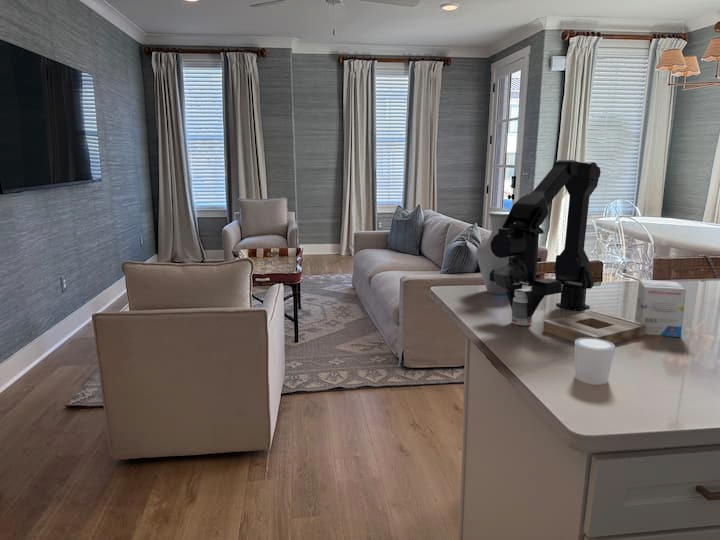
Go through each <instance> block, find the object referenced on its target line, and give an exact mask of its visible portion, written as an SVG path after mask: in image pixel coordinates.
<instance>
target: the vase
mask: <svg viewBox="0 0 720 540" xmlns="http://www.w3.org/2000/svg"><path fill="white" fill-rule="evenodd" d="M509 213H510V211H489V212H488V215H489V218H490V223H491V233H490V235H489V237H488V238H487V239H486V240H484V241H483V242H482V243H480V244H479V245H478V247H477V248H476V259H477V262H478V267H479V270H480V274H481V277H482V280H483V283H484V285H485V288H486V290H487V293H489V294H493V295H499V296H500V295H507V293H506V291H505V290H504V289H503V288H502V287H500V286H499V285H497V284H496V282H493V281H490V273H491V271H492V270H496V269H499V268H501V267H502V266H504V265H507V264H508V262H509V258H510V257H512V256H510V257H504V258H499V257H496V256H495V255H494V254H493V252H492V250H491V241H492V239H493V237H494V236H495V235H497V234H498V231H499V229H500V228H502V227H503V225H504V223H505V221H506V219H507V217H508V215H509Z"/></svg>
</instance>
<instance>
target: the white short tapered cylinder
mask: <svg viewBox="0 0 720 540" xmlns="http://www.w3.org/2000/svg"><path fill="white" fill-rule="evenodd" d="M615 348H616V345H615V344H613V343H611V342H609V341H606V340H602V339H597V338H579V339H576V340H575V342H574V376H575V378H576V380H578V381H579V382H580V383H581V382H582V383H584V384H587V385H591V386H592V385H593V386H601V385H606V384H608V382H609V378H610V372H611V367H612V364H613V363H612V362H613V358H614V354H615Z"/></svg>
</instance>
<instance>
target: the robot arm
mask: <svg viewBox="0 0 720 540" xmlns="http://www.w3.org/2000/svg"><path fill="white" fill-rule="evenodd" d="M552 165H553V166H552V168H551V169H550V171H548V173H546V175H545V176H544V177H543V179H541V181H540V182H539V184H538V185H537V186H536V187H535V188H534V189H533V191H531V192H530V193H529V194H526V195H524V196H521V197H520V198H518V200H517V201H515V203H513V205H512V207H511V209H510V211H509V212H510V213H509V215H508V217H507V219H506V221H505V223H504V225H503V227H502V228H500V229H499V231H498V234H497V235H495V236H494V237H493V239H492V241H491V250H492V252H493V254H494V255H495V256H496V257H499V258H504V257H510V256H512V257H510V258H509V262H508V264H507V265H504V266H502V267H501V268H499V269H496V270H492V271H491V273H490V281H493V282H496V284H497V285H499V286H500V287H502V288H503V289H504V290H505V291H506V293H507V294H506V296H507V298H508V302H509V304H510V308H511V310H512V308H513V298H514V297H515V295H514V293H515V290H516V289H523V286H528V287H530V288H529V290H530V291H525V292H524V293H525V294H526V295H527V297H528V303H527V315H528V317H532V318H533V315H534V314H535V312H536V311H537V309H538V307H539V305H540V303H541V302H542V301H543V299H544V298H545V296H551V295H555V294H560V299H559V302H557V303H556V304H555V306H557V307H560V308H561V307H562V308H563V309H568V310H571V311H580V310H585V309H590V307H591V306H590V305H588V304H586V298H587V289H589V290H590V289H593V287H594V285H595V281H596V279H595V277H594V276H593V274H592V273H593V272H591V271H592V270H591V269H590V259H589V257H588V255H587V253H586V251H585V244H586V243H585V241H586V234H587V233H586V232H587V223H588V216H589V215H588V213H589V205H590V197H591V195H592V194H593V192H594V191H595V190H596V188H597V187H598V186H599V185H598V183H599V179H600V177H601V173H602V171H601V167H599V166H598V164H597V162H594V161H586V162H585V161H584V162H582V161H578V160H577V161H576V160H573V159H558V160H556V161H554V163H553V164H552ZM563 187H565V189H566V191H567V193H568V195H569V198H568V199H569V201H568V209H567V220H566V221H567V222H566V230H565V231H566V232H565V239H564V249H563V250H562V251H561V253H560V254H557V255H556V256H555V265H554V275H555V278H554V279H552V278H541V273H538V272H537V270H538V263H541V262H542V257H539V243H540V235H543V234H544V230H543V229H542V228H541V225H542V224H543V223H544V221H545V220H546V218H547V216H548V214H549V206H550V204H551V202H552V201H553V200H554V198H555V197H556V196H557V195H558V194H559V192H560V191H561V190H562V189H563ZM540 278H541V279H540Z"/></svg>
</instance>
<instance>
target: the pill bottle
mask: <svg viewBox="0 0 720 540" xmlns="http://www.w3.org/2000/svg"><path fill="white" fill-rule="evenodd" d="M525 291H530V289H526V288H522V289H516V290H515V293H514V295H515V297H514V298H513V308H512V309H511V311H512V313H511V323H512V324H514V325H517V326H530V325H531V324H532V319H533V316H532V317H528V315H527V303H528V297H527V295H526V294H525V293H524V292H525Z"/></svg>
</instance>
